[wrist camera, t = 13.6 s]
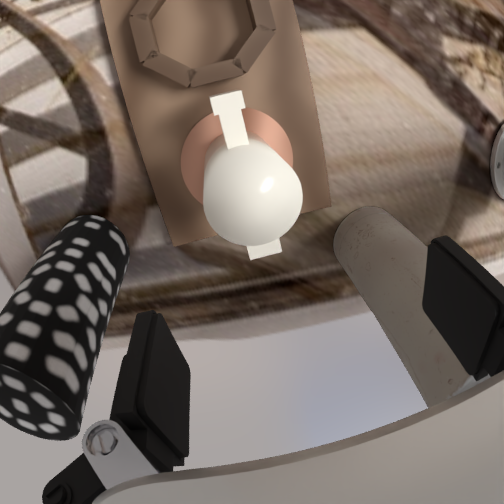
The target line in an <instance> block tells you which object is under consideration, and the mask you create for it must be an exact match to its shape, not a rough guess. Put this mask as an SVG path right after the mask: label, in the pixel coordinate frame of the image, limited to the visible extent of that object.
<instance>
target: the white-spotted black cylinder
mask: <svg viewBox="0 0 504 504" xmlns="http://www.w3.org/2000/svg"><path fill="white" fill-rule="evenodd" d="M129 257H130V253H129V247H128V244H127V241H126V239H125V237H124V235H123V234H122V232H121V231H120V230H119V229H118V228H117V227H116V226H115V225H114V224H113V223H111V222H110V221H108V220H106V219H104V218H101V217H99V216H94V215H83V216H79V217H76V218H74V219H72V220H71V221H70V222H69V223H67V224H66V226H65V227H64V228H63V229H62V230H61V231H60V233H59V234H58V235H57V236H56V238H55V239H54V240H53V241H52V243H51V244H50V245H49V246H48V248H47V249H46V250H45V251H44V253H43V254H42V255H41V256H40V258H39V259H38V260H37V262H36V263H35V264H34V266H33V267H32V268H31V270H30V271H29V272H28V274H27V275H26V277H25V278H24V279H23V281H22V282H21V284H20V285H19V286H18V288H17V289H16V291H15V292H14V294H13V295H12V296H11V298H10V299H9V301H8V303H7V304H6V306H5V307H4V308H3V310H2V312H1V313H0V418H1V419H2V420H4V421H5V422H7V423H8V424H10V425H12V426H13V427H15V428H17V429H19V430H21V431H23V432H26V433H28V434H30V435H34V436H37V437H40V438H43V439H48V440H57V441H58V440H60V441H61V440H69V439H72V438H74V437H76V436H77V435H78V433H79V432H80V427H81V422H82V418H83V413H84V409H85V405H86V400H87V397H88V392H89V388H90V384H91V381H92V377H93V373H94V369H95V366H96V362H97V359H98V355H99V352H100V348H101V345H102V341H103V338H104V335H105V332H106V328H107V325H108V322H109V319H110V316H111V313H112V309H113V306H114V303H115V300H116V298H117V295H118V292H119V289H120V286H121V283H122V280H123V277H124V275H125V272H126V269H127V266H128V263H129Z"/></svg>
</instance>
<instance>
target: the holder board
mask: <svg viewBox="0 0 504 504" xmlns="http://www.w3.org/2000/svg"><path fill="white" fill-rule="evenodd" d="M100 4H101V8H102V13H103V17H104V22H105V26H106V30H107V35H108V39H109V43H110V47H111V51H112V55H113V59H114V62H115V66H116V70H117V74H118V77H119V81H120V85H121V88H122V92H123V95H124V99H125V102H126V106H127V109H128V113H129V116H130V119H131V123H132V126H133V129H134V132H135V136H136V139H137V142H138V145H139V148H140V152H141V155H142V158H143V161H144V164H145V167H146V170H147V173H148V176H149V179H150V182H151V185H152V188H153V191H154V194H155V196H156V199H157V202H158V205H159V208H160V211H161V213H162V216H163V219H164V222H165V224H166V227H167V230H168V233H169V235H170V238H171V241H172V243H173V246H174V247H175V246H179V245H182V244H186V243H190V242H194V241H197V240H201V239H205V238H209V237H212V236H216V235H218V234H217V233H216V232H215V231H214V229H213V228H212V227H211V226H210V224H209V222H208V220H207V218H206V215H205V212H204V206H203V188H204V161H205V155H206V152H207V149H208V148H209V146H210V144H211V143H212V142H213V141H214V140H215V139H216V138H217V137H218V136H220V135H221V134H223V131H222V127H221V123H220V119H219V115H215V116H214V113H213V109H212V105H211V101H210V97H209V96H213V95H217V94H221V93H225V92H229V91H233V90H241V91H242V95H243V99H244V103H245V108H244V109H241V112H242V116H243V120H244V124H245V128H246V130H247V131H250V132H253V133H255V134H257V135H258V136H260V137H261V138H262V139H263V140H264V141H265V142H266V143H267V144H268V145H269V146H270V147H271V148H272V149H273V150H274V151H275V152H276V153H277V154H278V155H279V156H280V157H281V158H282V159H283V160H284V161H285V162H286V163H287V164H288V165H289V166H290V167H291V168H292V169H293V170H294V172H295V173H296V175H297V176H298V178H299V181H300V183H301V187H302V193H303V201H302V207H301V211H300V214H302V213H306V212H310V211H314V210H318V209H323V208H327V207H331V198H330V190H329V183H328V176H327V169H326V162H325V155H324V149H323V143H322V137H321V131H320V125H319V119H318V114H317V108H316V103H315V97H314V92H313V87H312V82H311V77H310V72H309V68H308V63H307V58H306V54H305V49H304V45H303V41H302V36H301V32H300V28H299V24H298V20H297V16H296V12H295V8H294V4H293V1H292V0H100Z"/></svg>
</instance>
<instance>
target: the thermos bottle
mask: <svg viewBox="0 0 504 504" xmlns="http://www.w3.org/2000/svg"><path fill="white" fill-rule="evenodd" d="M333 248H334V253H335V256H336V258H337V260H338V261H339V263H340V264H341V266H342V267H343V269H344V270H345V272H346V273H347V274H348V276H349V277H350V279H351V280H352V282H353V284H354V285H355V287H356V288H357V290H358V291H359V293H360V294H361V296H362V297H363V299H364V301H365V302H366V304H367V305H368V307H369V308H370V310H371V311H372V312H373V313H374V315H375V317H376V318H377V320H378V322H379V323H380V325H381V327H382V329H383V330H384V332H385V334H386V336H387V337H388V339H389V341H390V342H391V344H392V345H393V347H394V349H395V350H396V352H397V354H398V356H399V357H400V359H401V361H402V362H403V364H404V366H405V367H406V369H407V371H408V373H409V374H410V376H411V378H412V380H413V381H414V383H415V385H416V386H417V388H418V390H419V392H420V394H421V395H422V397H423V399H424V401H425V402H426V404H427V406H428V408H430V407H432V406H434V405H437V404H439V403H441V402H443V401H445V400H448V399H450V398H452V397H454V396H456V395H458V394H460V393H462V392H464V391H466V390H468V389H470V388H472V387H474V386H476V385H477V384H479V383H481V382H483V381H485V380H487V379H489V378H491V377H490V375H489V374H488V376H486V377H484V378H482V379H480V380H479V381H477V382H476V380H475V379H474V377H473V376H472V375H469V374H468V373H467V372H466V371H465V369H464V368H463V366H462V365H461V363H460V362H459V360H458V359H457V357H456V356H455V354H454V353H453V351H452V350H451V348H450V347H449V346H448V344H447V343H446V341H445V340H444V339H443V337H442V336H441V334H440V333H439V332H438V330H437V329H436V327H435V326H434V325H433V323H432V322H431V321H430V319H429V318H428V316H427V315H426V314H425V312H424V310H423V307H422V299H423V291H424V283H425V273H426V263H427V251H428V248H427V247H426V246H425V245H424V244H423V243H422V242H421V241H420V240H419V239H418V238H417V237H416V236H415V235H414V234H413V233H411V232H410V231H409V230H408V229H407V228H406V227H405V226H403V225H402V224H401V223H400V222H399V221H398V220H396V219H395V218H394V217H393V216H392V215H390V214H389V213H388V212H387V211H385V210H384V209H381V208H379V207H373V206H371V207H363V208H360V209H358V210H356V211H354V212H352V213H351V214H349V215H348V216H347V217H346V218H345V219H344V220H343V221H342V222H341V224H340V225H339V227H338V229H337V231H336V233H335V237H334V243H333Z"/></svg>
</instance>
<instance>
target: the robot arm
mask: <svg viewBox="0 0 504 504" xmlns="http://www.w3.org/2000/svg"><path fill="white" fill-rule="evenodd" d="M490 169H491V179H492V183H493V186H494V189H495V191H496V193H497V194H498V195H499V196H500V198H502V199H504V124H503V125H502V126H501V128H500V130H499V131H498V133H497V136H496V138H495V141H494V144H493V148H492V153H491V163H490ZM422 307H423V310H424V312H425V314H426V315H427V316H428V318H429V319H430V321H431V322H432V323H433V325H434V326H435V327H436V329H437V330H438V332H439V333H440V334H441V336H442V337H443V339H444V340H445V341H446V343H447V344H448V346H449V347H450V348H451V350H452V351H453V353H454V354H455V356H456V357H457V359H458V360H459V362H460V363H461V365H462V366H463V368H464V369H465V371H466V372H467V373H468V374H469V375H472V376H473V377H474V379H475V380H476V382H477V381H479V380H480V379H482V378H484V377H486V376H488V374H489V375H490V377H491V378H489V379H487V380H485V381H483V382H481V383H479V384H477V385H476V386H474V387H472V388H470V389H468V390H466V391H464V392H462V393H460V394H458V395H456V396H454V397H452V398H450V399H448V400H445V401H443V402H441V403H439V404H437V405H434V406H432V407H430V408H428V409H425V410H423V411H421V412H418V413H416V414H413V415H411V416H409V417H406V418H404V419H401V420H398V421H396V422H393V423H391V424H388V425H385V426H382V427H379V428H377V429H374V430H371V431H368V432H365V433H362V434H359V435H356V436H353V437H350V438H346V439H343V440H340V441H336V442H333V443H329V444H325V445H321V446H318V447H314V448H310V449H306V450H302V451H298V452H294V453H289V454H284V455H280V456H275V457H270V458H265V459H259V460H254V461H248V462H242V463H235V464H230V465H222V466H216V467H208V468H199V469H189V470H182V471H173V466H184V457H188V455H189V410H190V409H189V408H190V368H189V365H188V363H187V362H186V360H185V358H184V356H183V354H182V352H181V351H180V349H179V347H178V345H177V343H176V341H175V339H174V337H173V335H172V333H171V331H170V329H169V328H168V326H167V324H166V322H165V320H164V318H163V316H162V314H161V313H158V314H157V313H156V312H155V311H154V310H151V311H147V312H142V313H138V314H137V316H136V319H135V323H134V327H133V331H132V335H131V339H130V343H129V347H128V351H127V354H126V355H125V356H124V357H123V360H122V364H121V368H120V372H119V377H118V381H117V386H116V391H115V395H114V400H113V405H112V409H111V414H110V420H102V421H98V422H96V423H94V424H93V425H92V426H90V427H89V428H88V429H87V431H86V432H85V434H84V436H83V439H82V449H83V451H84V453H83V454H82V455H80V456H79V457H78V458H77V459H76V460H75V461H73V462H72V463H71V464H70V465H69V466H67V467H66V468H65V469H64V470H63V471H61V472H60V473H59V474H58V475H56V476H55V477H54V478H53V479H52V480H50V481H49V483H48V484H47V485H46V486H45V488H44V490H43V495H42V500H43V504H504V286H503V285H502V284H500V282H499V281H498V280H496V279H495V278H494V277H493V276H492V275H491V274H490V273H489V272H488V271H487V270H486V269H485V268H484V267H483V266H482V265H480V264H479V263H478V262H477V261H476V260H475V259H474V258H473V257H472V256H470V255H469V254H468V253H467V252H466V251H465V250H464V249H463V248H461V247H460V246H459V245H458V244H457V243H456V242H454V241H453V240H452V239H451V238H450V237H448V236H442V237H439V238H435V239H433V240H432V241H431V244H430V245H429V246H428V251H427V263H426V273H425V283H424V291H423V299H422Z"/></svg>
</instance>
